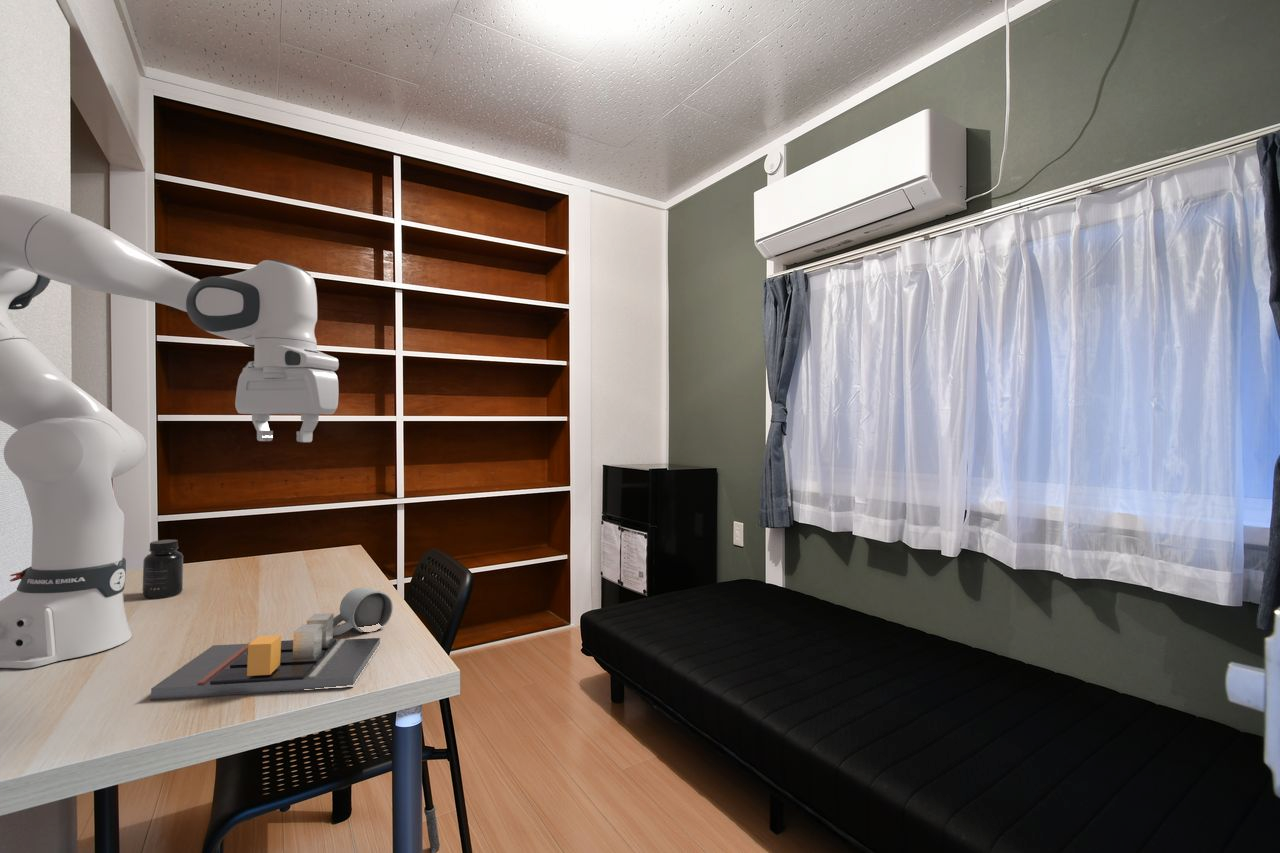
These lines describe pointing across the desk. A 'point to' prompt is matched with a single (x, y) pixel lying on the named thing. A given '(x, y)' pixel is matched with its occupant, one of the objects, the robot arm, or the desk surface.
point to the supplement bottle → (163, 570)
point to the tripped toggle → (264, 655)
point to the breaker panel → (301, 667)
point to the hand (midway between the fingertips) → (284, 441)
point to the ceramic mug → (363, 610)
